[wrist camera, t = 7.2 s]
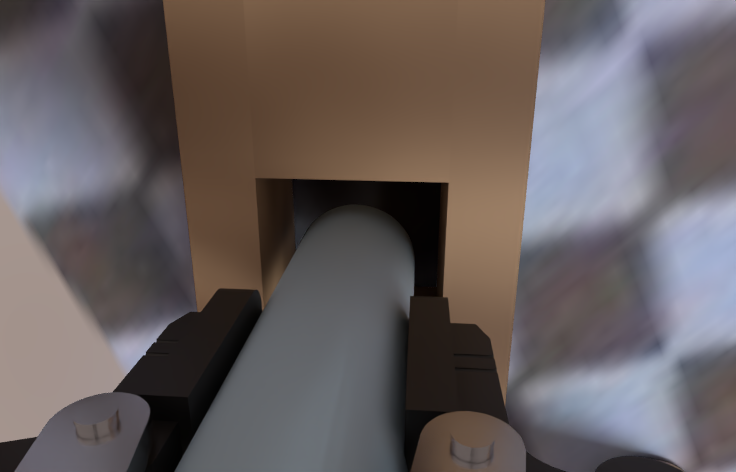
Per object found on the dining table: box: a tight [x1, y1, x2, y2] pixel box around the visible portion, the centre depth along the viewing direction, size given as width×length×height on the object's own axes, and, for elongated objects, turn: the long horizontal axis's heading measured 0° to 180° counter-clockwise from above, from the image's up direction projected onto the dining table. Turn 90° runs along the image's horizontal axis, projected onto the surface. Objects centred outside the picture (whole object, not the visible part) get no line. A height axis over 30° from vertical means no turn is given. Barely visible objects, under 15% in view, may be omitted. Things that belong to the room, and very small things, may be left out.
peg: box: [174, 205, 415, 472], centre depth 10 cm, size 3×3×12 cm
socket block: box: [163, 0, 545, 404], centre depth 15 cm, size 18×8×4 cm, turn 0°
